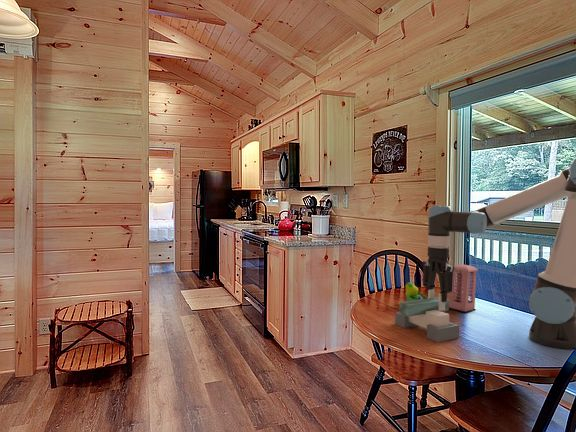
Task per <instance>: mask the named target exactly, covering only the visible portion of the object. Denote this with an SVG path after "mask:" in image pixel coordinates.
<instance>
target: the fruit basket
mask: <svg viewBox="0 0 576 432" xmlns="http://www.w3.org/2000/svg"><path fill="white" fill-rule="evenodd" d="M405 297H406V301H414V300H421V299H428V297H427V296H426V295H424V294H423V293H421V292H419V288H418V286H416V285H414V284H413V282H410V281H409V282H406V284H405Z"/></svg>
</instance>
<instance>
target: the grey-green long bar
mask: <svg viewBox="0 0 576 432" xmlns="http://www.w3.org/2000/svg"><path fill="white" fill-rule="evenodd" d="M438 306H439V296H438V297H436V296H435V298H429V299H421V300H414V301H407V300H406V301H400V302H399V311H398V312H399V313H400V314H403V315H405V316H408V317H409V316H415V315H422V314H426V311H432V310H438ZM449 310H450V309H449V298H447V301H446V302H445V310H441V312H446V311H449ZM438 311H439V310H438Z"/></svg>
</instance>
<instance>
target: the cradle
mask: <svg viewBox="0 0 576 432" xmlns="http://www.w3.org/2000/svg"><path fill="white" fill-rule="evenodd" d="M394 316H395V317H394V324H395V325H397V326H399V327H401V328H404V329H405V328H412V327H417V326H418V325H416V324H413V323H411V322H408V316H405V315H403V314H400V313H399V311H397V312H395V314H394ZM459 338H460V325H459V324H456V323H454V322H451V321H449V326H447V327H441V328H438V327H436V326H433V325H431V324H429V325H427V329H426V339H430V340H431V341H433V342H437V343H441V342H445V341H447V342H448V341H451V340H455V339H459Z"/></svg>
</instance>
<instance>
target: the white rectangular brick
mask: <svg viewBox="0 0 576 432" xmlns="http://www.w3.org/2000/svg"><path fill="white" fill-rule="evenodd" d="M408 322H411V323H413V324H416V325H418V326H419V327H420V328H424V329H426V330H427V325H429V324H431V325H433V326H436V327H438V328H441V327H447V326H449V322H450V313H446V312H445V311H438V310H432V311H426V314H422V315H415V316H409V317H408Z"/></svg>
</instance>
